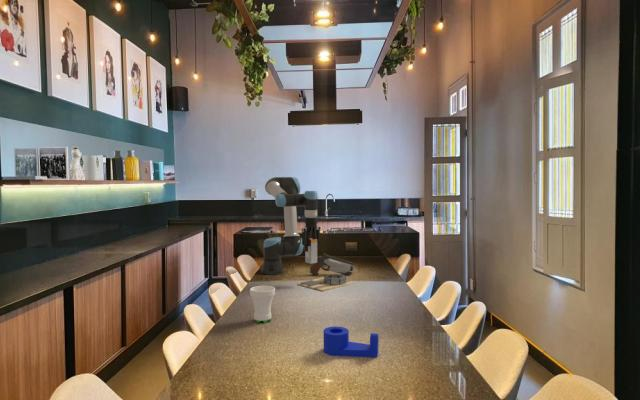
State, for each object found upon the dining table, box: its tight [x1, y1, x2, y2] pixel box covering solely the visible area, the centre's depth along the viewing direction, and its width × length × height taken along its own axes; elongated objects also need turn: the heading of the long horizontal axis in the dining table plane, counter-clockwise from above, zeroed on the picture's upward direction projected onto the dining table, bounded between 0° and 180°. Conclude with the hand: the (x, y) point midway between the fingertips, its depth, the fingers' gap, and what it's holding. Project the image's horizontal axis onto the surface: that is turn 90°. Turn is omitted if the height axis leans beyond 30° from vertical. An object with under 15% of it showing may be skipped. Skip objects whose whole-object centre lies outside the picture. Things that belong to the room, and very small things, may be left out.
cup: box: [249, 285, 276, 324], centre depth 188 cm, size 11×11×14 cm
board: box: [296, 276, 355, 292], centre depth 255 cm, size 22×26×1 cm
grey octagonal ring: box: [323, 273, 347, 285], centre depth 256 cm, size 13×13×4 cm
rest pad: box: [300, 279, 322, 286], centre depth 254 cm, size 9×9×1 cm
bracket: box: [323, 325, 379, 358], centre depth 154 cm, size 20×9×8 cm, turn 76°
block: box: [304, 237, 318, 265], centre depth 253 cm, size 5×5×14 cm
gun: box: [308, 253, 355, 277], centre depth 280 cm, size 5×27×15 cm, turn 89°
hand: (311, 256), depth 253 cm, fingers closed on block, 5 cm apart
